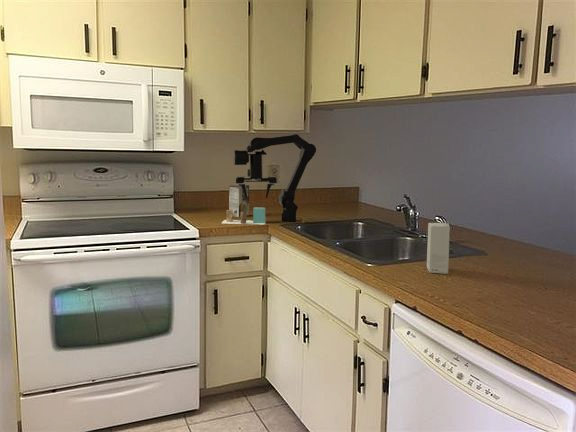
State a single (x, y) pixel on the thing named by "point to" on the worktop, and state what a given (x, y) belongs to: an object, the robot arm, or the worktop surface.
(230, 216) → the oak post
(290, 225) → the worktop surface
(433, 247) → the skincare box
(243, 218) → the walnut dowel
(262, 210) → the light blue block
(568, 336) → the worktop surface
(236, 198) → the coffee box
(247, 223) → the board
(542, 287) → the worktop surface
